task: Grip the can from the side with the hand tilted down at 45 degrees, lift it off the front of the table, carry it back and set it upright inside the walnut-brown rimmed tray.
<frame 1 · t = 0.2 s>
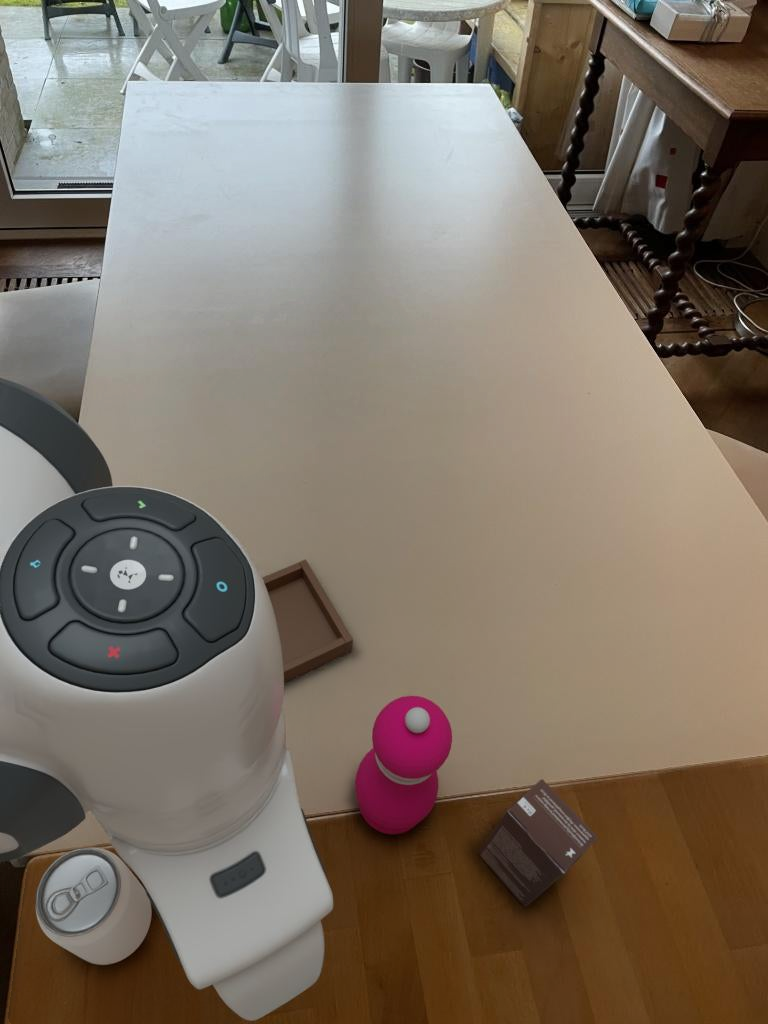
hand: (214, 836, 46), 23 cm above the table, tool pointing down, fingers open, 8 cm apart
box: (516, 863, 69), on the table
can: (112, 920, 64), on the table
tray: (277, 632, 80), on the table
pepper mill: (391, 799, 72), on the table
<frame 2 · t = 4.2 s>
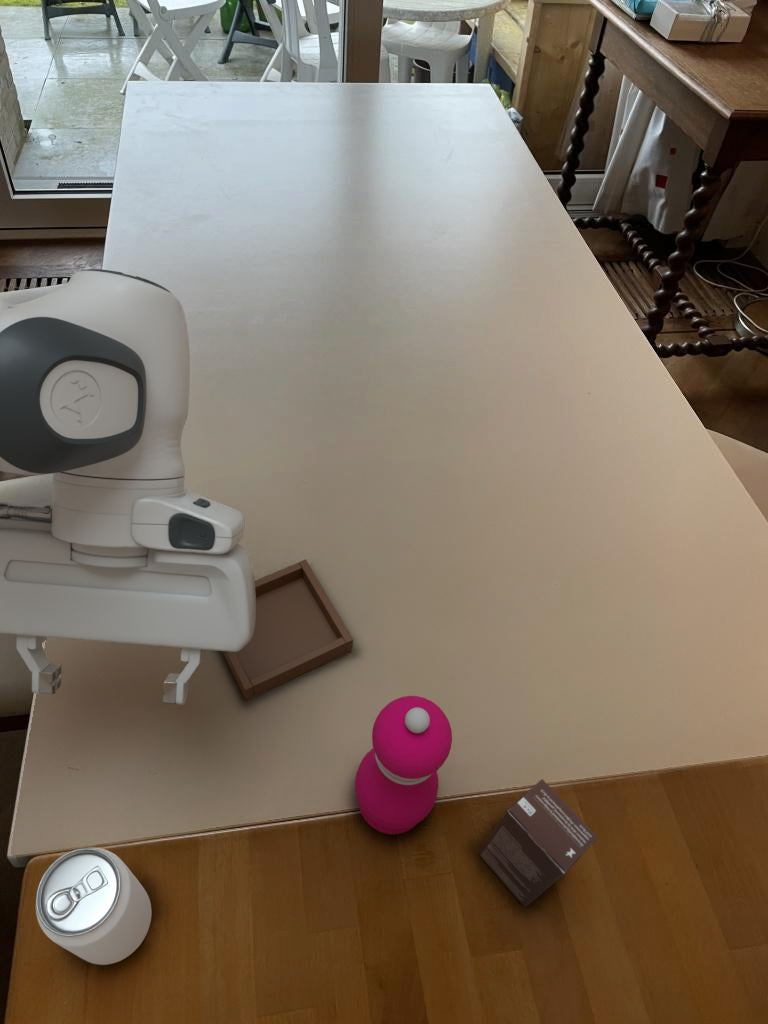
hand: (111, 696, 58), 16 cm above the table, tool tilted 45°, fingers open, 8 cm apart
nothing on the table moved.
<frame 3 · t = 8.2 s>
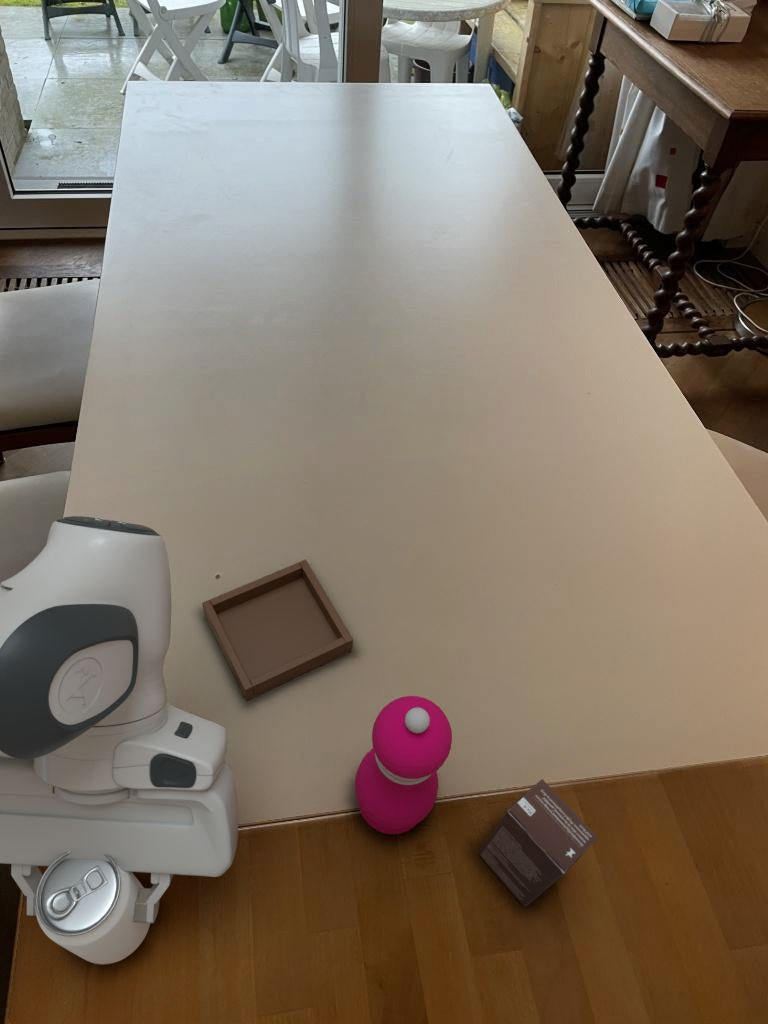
hand: (94, 914, 58), 6 cm above the table, tool tilted 45°, fingers closed on can, 6 cm apart
can: (112, 920, 64), on the table, touching gripper
everything else where it was.
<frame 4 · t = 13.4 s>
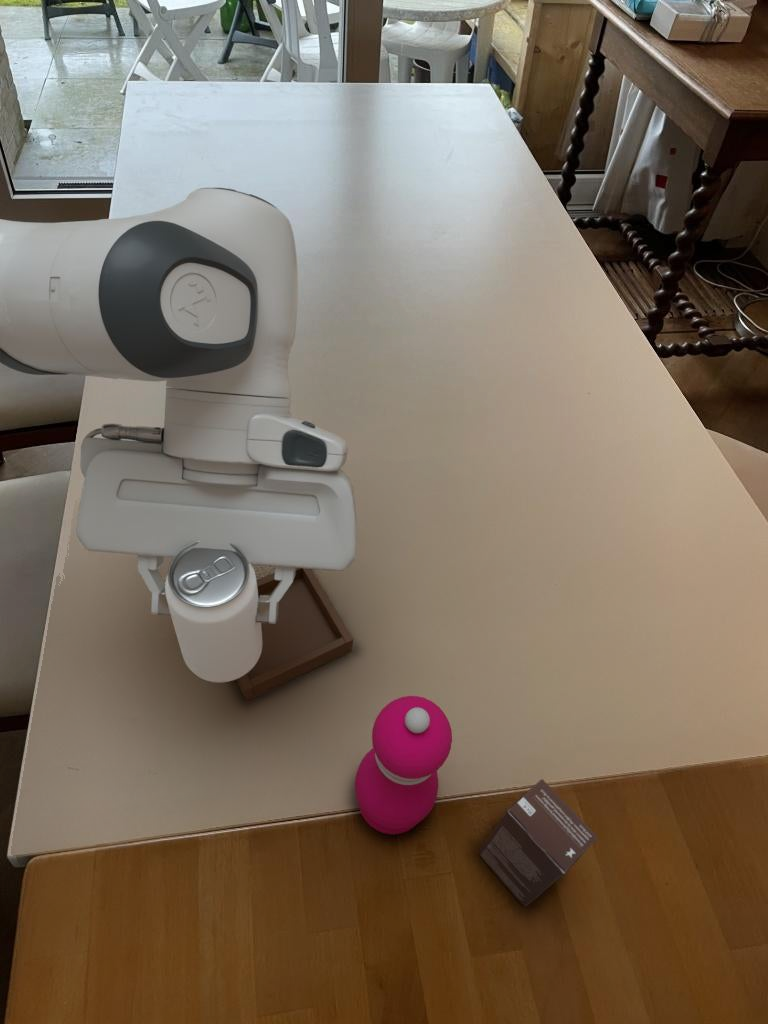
hand: (216, 617, 59), 20 cm above the table, tool tilted 45°, fingers closed on can, 6 cm apart
can: (223, 649, 65), point 13 cm above the table, touching gripper
everything else where it was.
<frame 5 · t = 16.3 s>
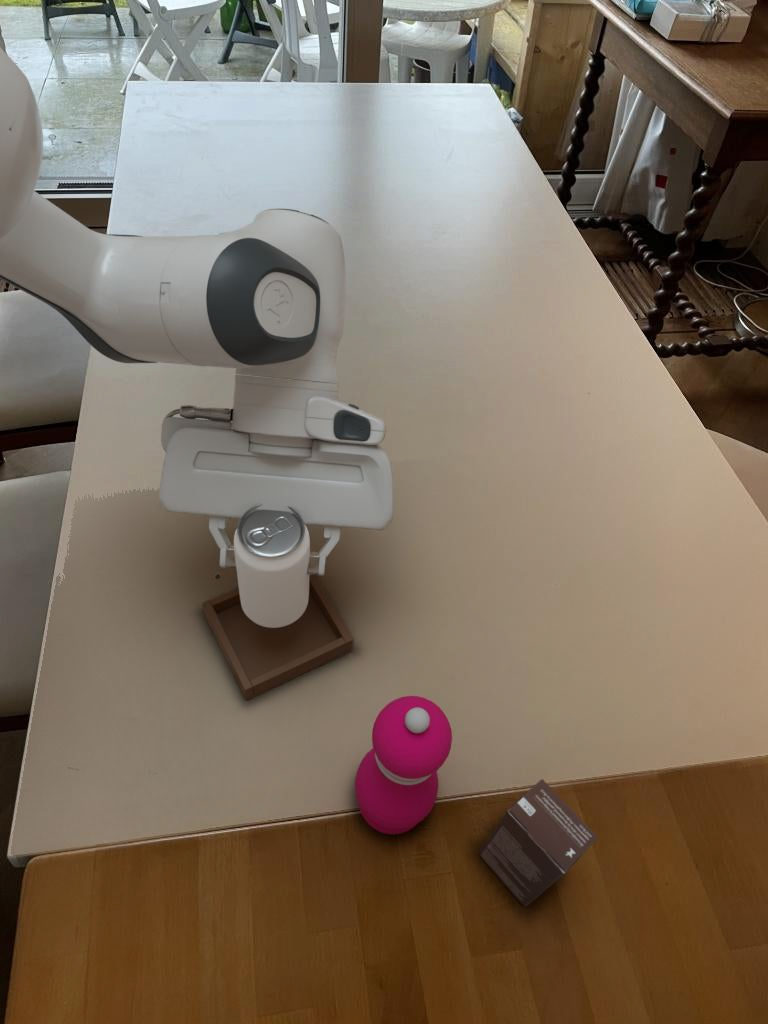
hand: (273, 570, 70), 13 cm above the table, tool tilted 45°, fingers closed on can, 6 cm apart
can: (274, 600, 75), point 6 cm above the table, touching gripper
everything else where it was.
when the fingers open (7 cm above the table, at t = 18.6 s): can stays where it is, resting on tray.
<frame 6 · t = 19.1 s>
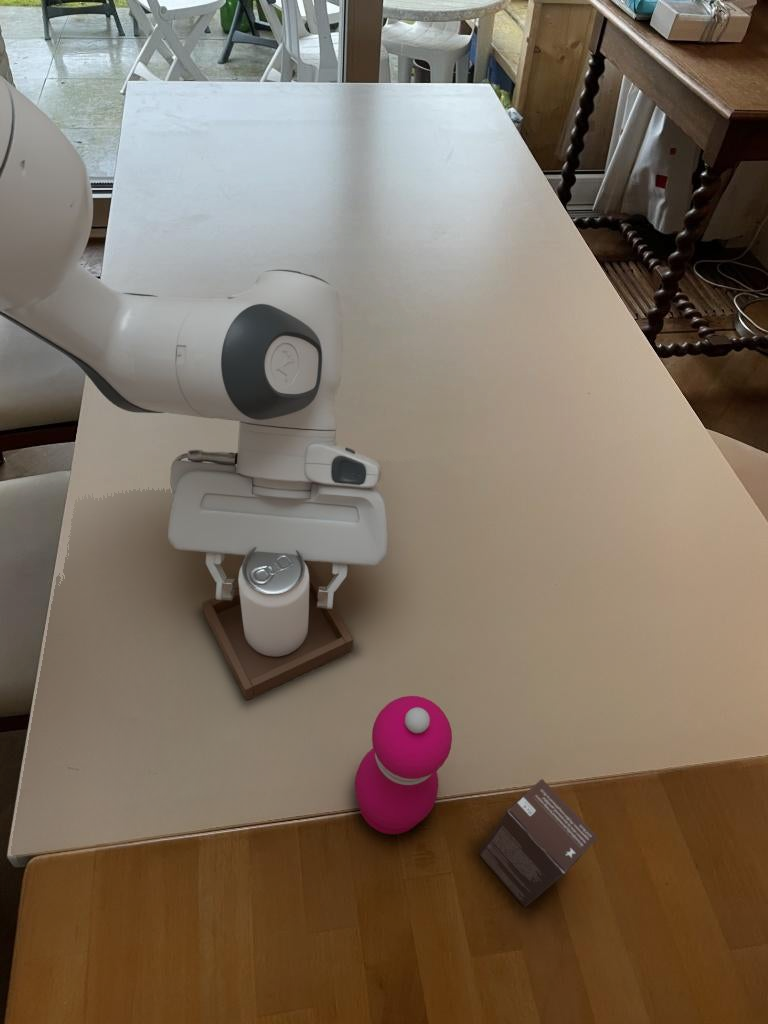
hand: (274, 603, 74), 7 cm above the table, tool tilted 45°, fingers open, 8 cm apart
can: (276, 630, 80), resting on tray
everything else where it was.
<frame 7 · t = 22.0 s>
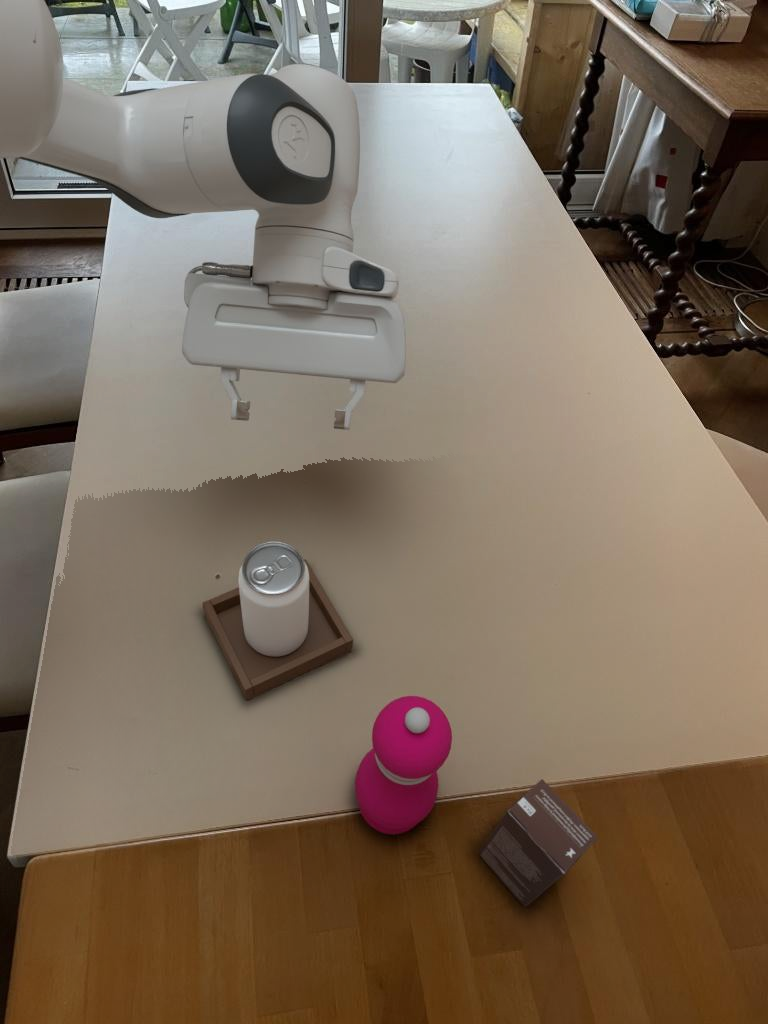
hand: (290, 424, 73), 18 cm above the table, tool tilted 45°, fingers open, 8 cm apart
nothing on the table moved.
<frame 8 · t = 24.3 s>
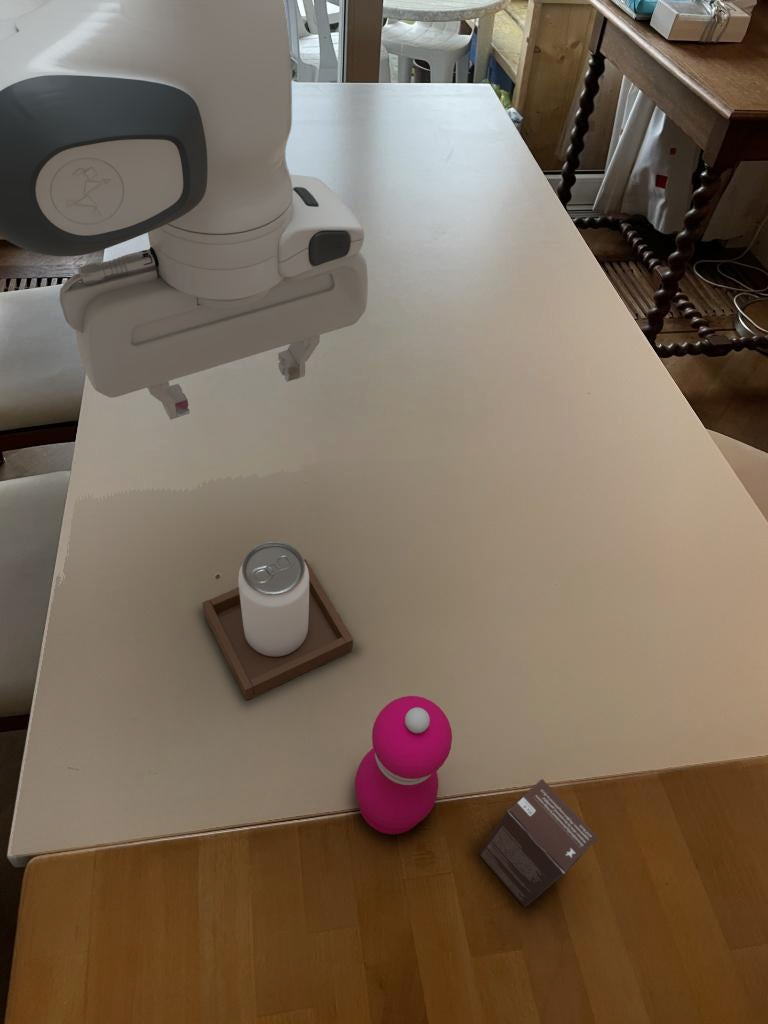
hand: (235, 392, 60), 29 cm above the table, tool pointing down, fingers open, 8 cm apart
nothing on the table moved.
at the end: can inside the target area in the tray (0.1 cm from its centre), point 0.3 cm above the tray's base; can tilted 0°; the gripper is holding nothing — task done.
